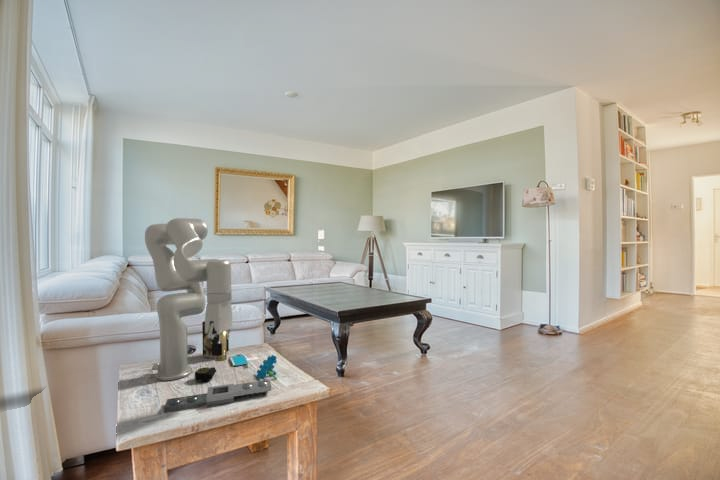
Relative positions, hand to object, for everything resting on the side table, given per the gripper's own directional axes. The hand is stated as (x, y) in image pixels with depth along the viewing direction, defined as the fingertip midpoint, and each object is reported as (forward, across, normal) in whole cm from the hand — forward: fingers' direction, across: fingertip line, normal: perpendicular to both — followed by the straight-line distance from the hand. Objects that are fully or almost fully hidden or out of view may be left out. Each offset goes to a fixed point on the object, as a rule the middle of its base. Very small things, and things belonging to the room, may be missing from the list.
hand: (220, 352), depth 114 cm
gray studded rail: (+15, 0, 0) cm, 15 cm away
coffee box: (+15, -41, -24) cm, 50 cm away
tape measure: (+16, -16, -14) cm, 27 cm away
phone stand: (+16, -36, -9) cm, 41 cm away
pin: (+2, 0, 0) cm, 2 cm away
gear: (+16, -20, +8) cm, 26 cm away
